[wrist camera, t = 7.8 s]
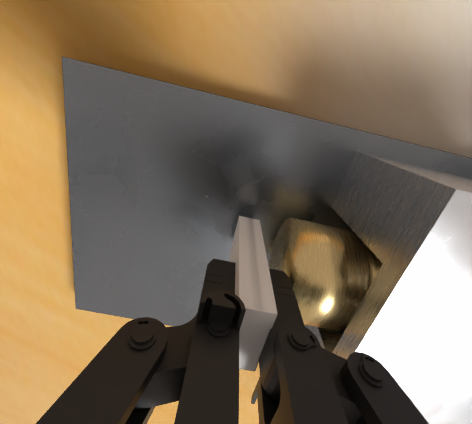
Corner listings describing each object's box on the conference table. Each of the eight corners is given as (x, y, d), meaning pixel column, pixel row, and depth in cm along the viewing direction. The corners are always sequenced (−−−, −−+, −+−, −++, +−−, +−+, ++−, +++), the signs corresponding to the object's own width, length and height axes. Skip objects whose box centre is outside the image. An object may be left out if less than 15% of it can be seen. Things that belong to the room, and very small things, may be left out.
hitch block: (84, 298, 18) (-10, 412, 12) (75, 60, 12) (-141, -1, 5) (421, 359, 20) (512, 488, 14) (563, 181, 14) (869, 252, 7)
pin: (263, 273, 15) (272, 343, 11) (287, 203, 14) (310, 252, 9) (475, 315, 17) (565, 395, 12) (525, 255, 15) (656, 324, 10)
